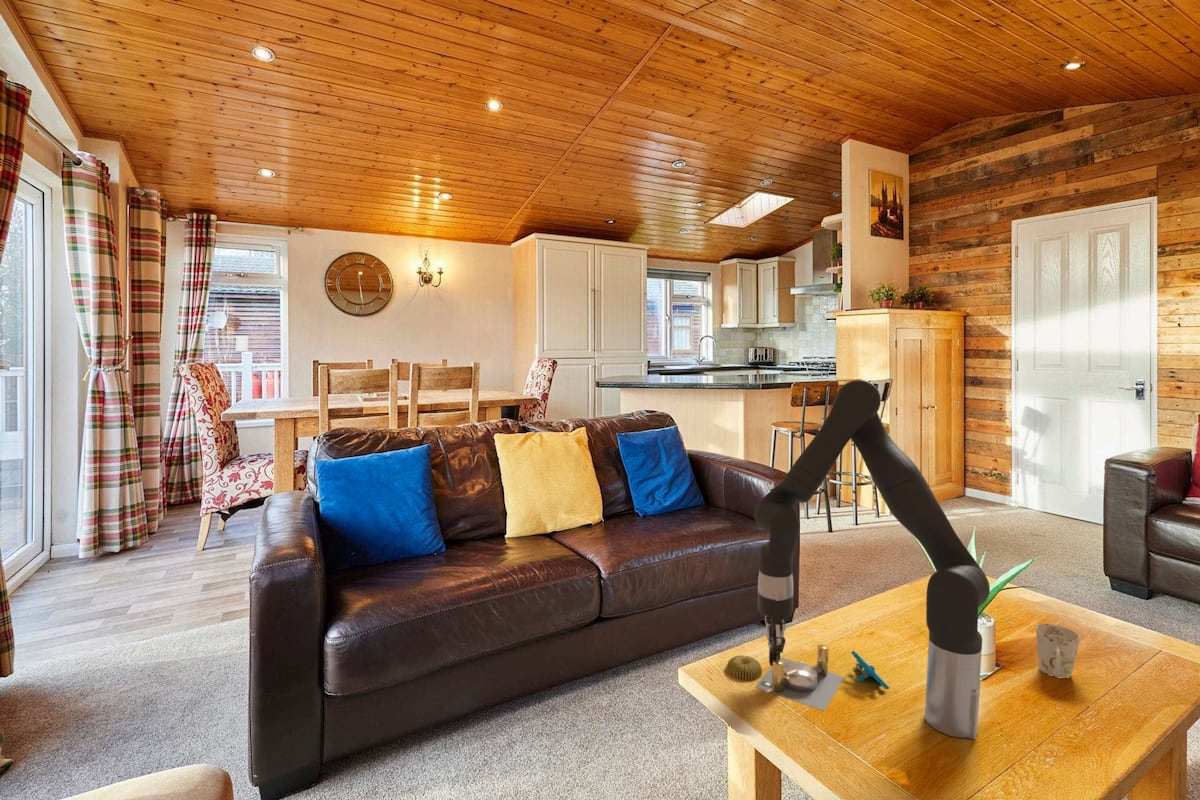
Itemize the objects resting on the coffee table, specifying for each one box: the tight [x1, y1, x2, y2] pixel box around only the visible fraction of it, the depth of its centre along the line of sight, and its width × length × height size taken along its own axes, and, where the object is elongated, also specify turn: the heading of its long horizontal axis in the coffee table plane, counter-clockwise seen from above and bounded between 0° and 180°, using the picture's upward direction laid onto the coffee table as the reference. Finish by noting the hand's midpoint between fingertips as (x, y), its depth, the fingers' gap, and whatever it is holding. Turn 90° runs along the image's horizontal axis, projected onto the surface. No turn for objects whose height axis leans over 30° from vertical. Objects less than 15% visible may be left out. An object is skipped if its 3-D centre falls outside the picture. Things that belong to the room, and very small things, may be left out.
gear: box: [850, 650, 890, 689], centre depth 137 cm, size 11×6×10 cm
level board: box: [755, 656, 845, 712], centre depth 136 cm, size 15×18×2 cm
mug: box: [1035, 623, 1081, 678], centre depth 141 cm, size 8×13×10 cm, turn 148°
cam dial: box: [772, 644, 830, 692], centre depth 136 cm, size 16×8×6 cm, turn 119°
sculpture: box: [726, 655, 763, 681], centre depth 141 cm, size 8×4×8 cm
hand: (774, 664), depth 135 cm, fingers closed
